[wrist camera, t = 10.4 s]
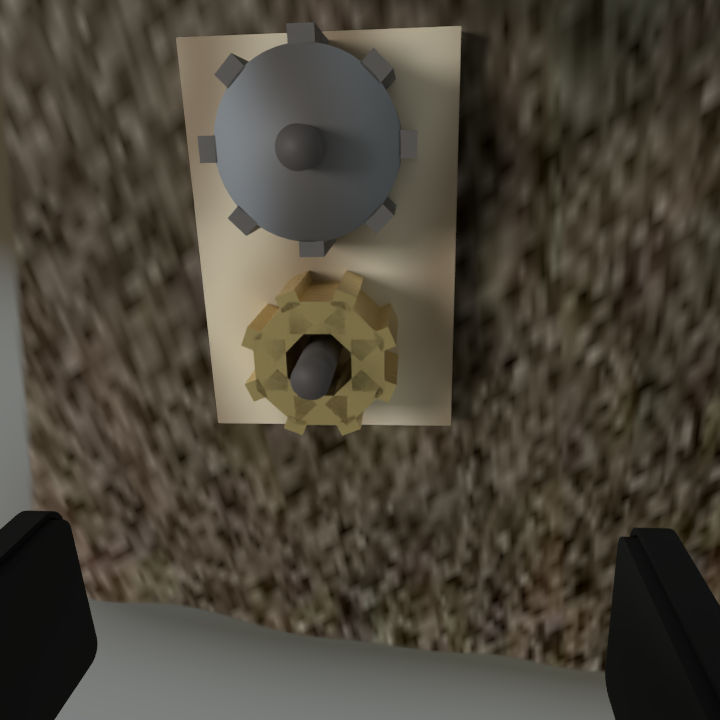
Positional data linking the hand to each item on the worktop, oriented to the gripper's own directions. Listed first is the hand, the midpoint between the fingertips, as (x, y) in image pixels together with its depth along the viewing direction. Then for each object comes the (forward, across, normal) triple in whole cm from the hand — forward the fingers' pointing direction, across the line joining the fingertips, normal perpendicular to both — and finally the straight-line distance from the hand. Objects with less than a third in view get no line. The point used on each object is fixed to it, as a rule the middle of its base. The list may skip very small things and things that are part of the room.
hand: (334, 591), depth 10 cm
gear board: (+21, +4, -3) cm, 22 cm away
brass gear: (+20, +4, +2) cm, 20 cm away
